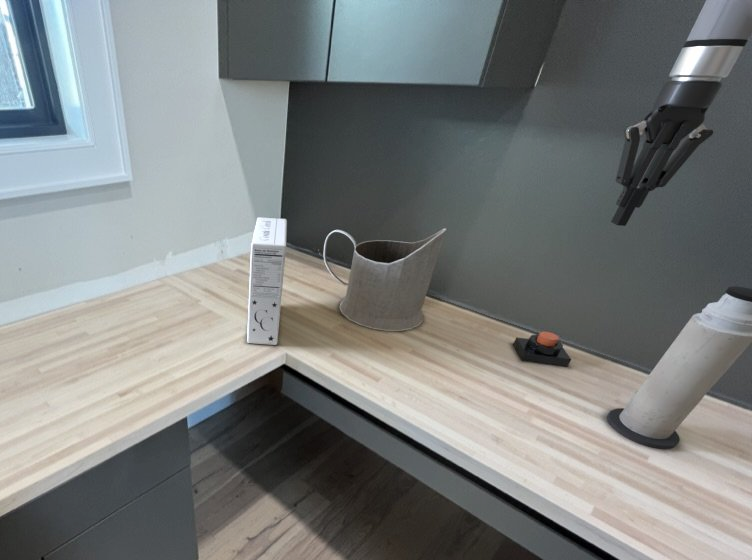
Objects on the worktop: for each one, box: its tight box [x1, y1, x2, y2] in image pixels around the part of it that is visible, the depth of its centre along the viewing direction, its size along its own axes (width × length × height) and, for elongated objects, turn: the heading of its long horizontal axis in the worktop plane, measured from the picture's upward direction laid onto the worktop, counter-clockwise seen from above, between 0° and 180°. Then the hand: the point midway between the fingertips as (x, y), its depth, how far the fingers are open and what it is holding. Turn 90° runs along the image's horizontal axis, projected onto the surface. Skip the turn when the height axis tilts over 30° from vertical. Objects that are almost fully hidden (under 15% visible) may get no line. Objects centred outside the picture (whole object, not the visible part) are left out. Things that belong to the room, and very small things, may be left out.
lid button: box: [536, 331, 560, 347], centre depth 101 cm, size 4×4×2 cm
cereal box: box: [246, 217, 288, 346], centre depth 106 cm, size 22×8×25 cm, turn 174°
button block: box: [512, 333, 572, 368], centre depth 103 cm, size 10×8×4 cm
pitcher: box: [323, 228, 447, 332], centre depth 116 cm, size 23×32×25 cm
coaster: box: [606, 407, 681, 450], centre depth 82 cm, size 11×11×1 cm
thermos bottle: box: [619, 285, 752, 439], centre depth 73 cm, size 8×8×28 cm
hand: (618, 223), depth 85 cm, fingers closed
